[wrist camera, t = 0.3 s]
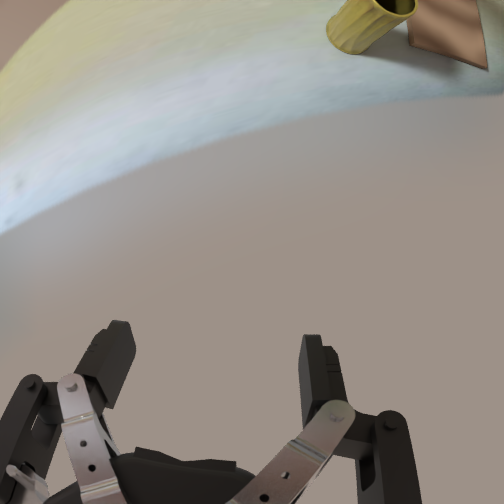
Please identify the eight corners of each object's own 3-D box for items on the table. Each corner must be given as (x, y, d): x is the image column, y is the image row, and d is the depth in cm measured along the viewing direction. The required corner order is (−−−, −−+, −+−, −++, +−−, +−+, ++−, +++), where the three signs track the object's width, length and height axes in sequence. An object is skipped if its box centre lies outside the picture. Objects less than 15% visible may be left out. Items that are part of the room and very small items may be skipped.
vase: (378, 33, 29) (431, -2, 16) (356, 63, 31) (407, 34, 18) (340, 6, 28) (378, -42, 15) (316, 35, 30) (349, -10, 17)
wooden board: (394, -40, 24) (398, -44, 22) (466, -13, 24) (471, -15, 22) (409, 45, 30) (414, 43, 28) (481, 68, 30) (487, 67, 28)
